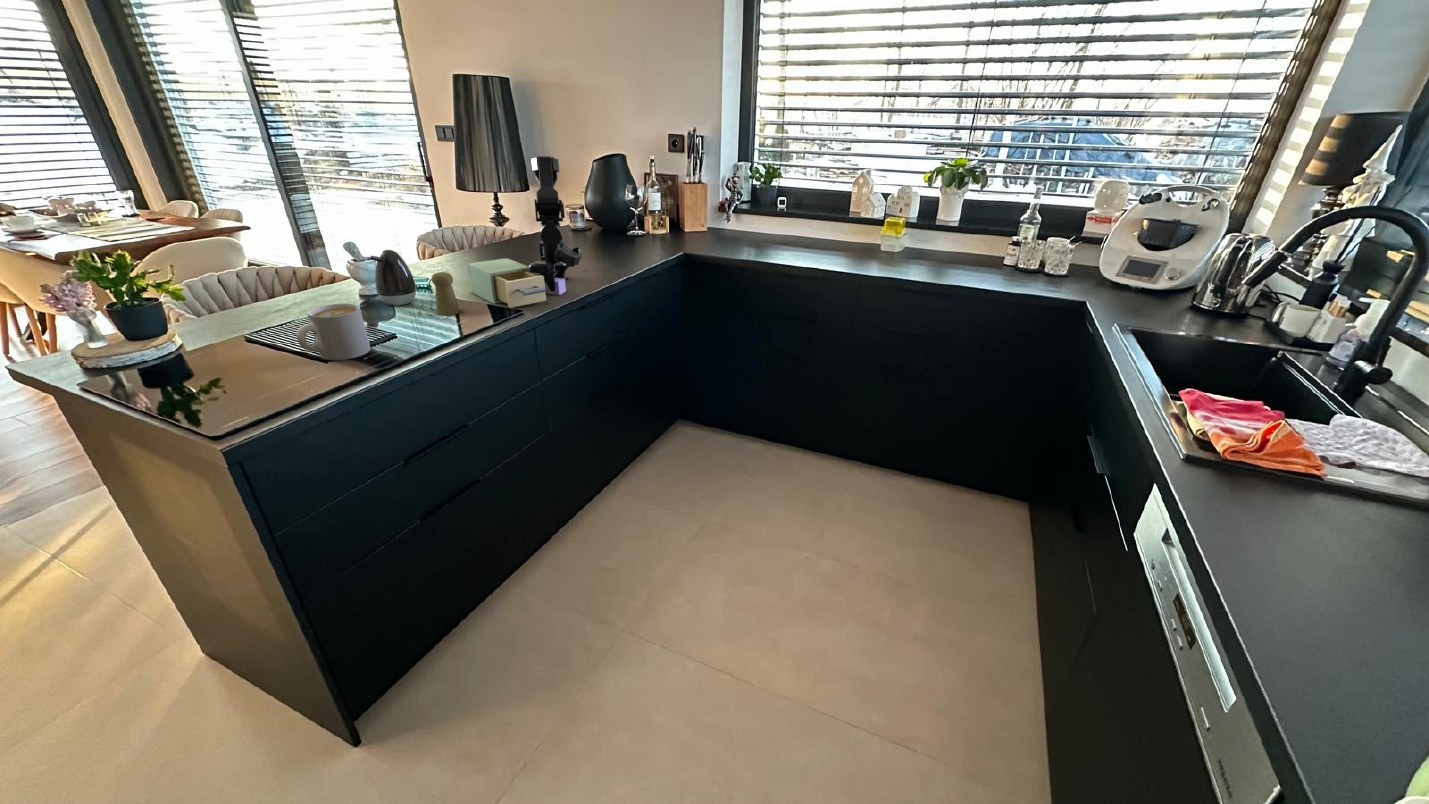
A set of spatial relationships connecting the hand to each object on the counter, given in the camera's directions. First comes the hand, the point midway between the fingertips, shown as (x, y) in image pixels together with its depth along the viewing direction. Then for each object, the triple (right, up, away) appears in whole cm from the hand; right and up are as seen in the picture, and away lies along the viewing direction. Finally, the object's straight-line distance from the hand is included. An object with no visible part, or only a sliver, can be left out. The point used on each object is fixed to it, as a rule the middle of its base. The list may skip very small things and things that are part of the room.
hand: (556, 289), depth 175 cm
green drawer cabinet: (-16, -2, -4) cm, 16 cm away
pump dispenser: (-41, -7, -14) cm, 44 cm away
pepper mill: (-25, -11, -20) cm, 33 cm away
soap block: (0, -1, 0) cm, 1 cm away
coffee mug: (-36, -25, -49) cm, 65 cm away
